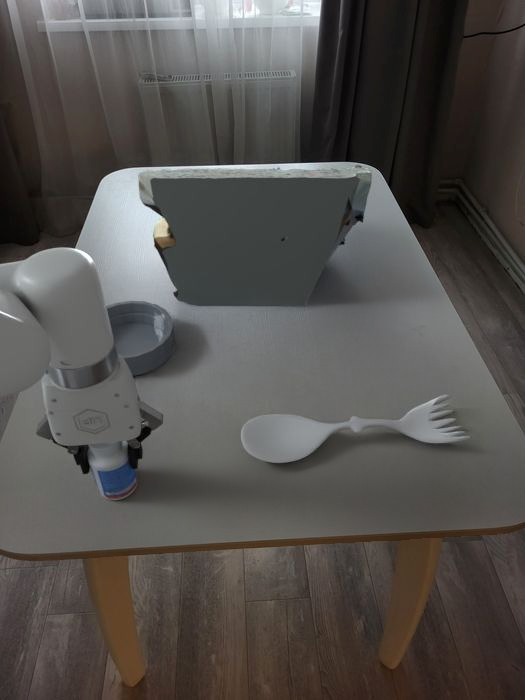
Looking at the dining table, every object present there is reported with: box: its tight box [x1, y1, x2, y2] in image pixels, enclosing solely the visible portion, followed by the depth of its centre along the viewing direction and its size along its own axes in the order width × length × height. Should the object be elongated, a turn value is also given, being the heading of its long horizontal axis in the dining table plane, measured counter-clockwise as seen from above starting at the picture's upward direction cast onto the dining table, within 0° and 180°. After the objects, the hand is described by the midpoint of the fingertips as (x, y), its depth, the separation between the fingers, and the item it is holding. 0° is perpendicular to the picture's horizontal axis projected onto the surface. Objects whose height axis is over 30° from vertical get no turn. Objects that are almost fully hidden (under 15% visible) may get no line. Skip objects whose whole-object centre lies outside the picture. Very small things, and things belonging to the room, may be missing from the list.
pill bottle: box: [87, 441, 139, 501], centre depth 72 cm, size 6×5×10 cm
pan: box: [106, 300, 177, 377], centre depth 95 cm, size 16×16×4 cm
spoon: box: [240, 394, 472, 464], centre depth 80 cm, size 9×32×4 cm, turn 96°
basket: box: [137, 164, 373, 307], centre depth 107 cm, size 40×31×28 cm
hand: (111, 461), depth 72 cm, fingers closed on pill bottle, 5 cm apart
